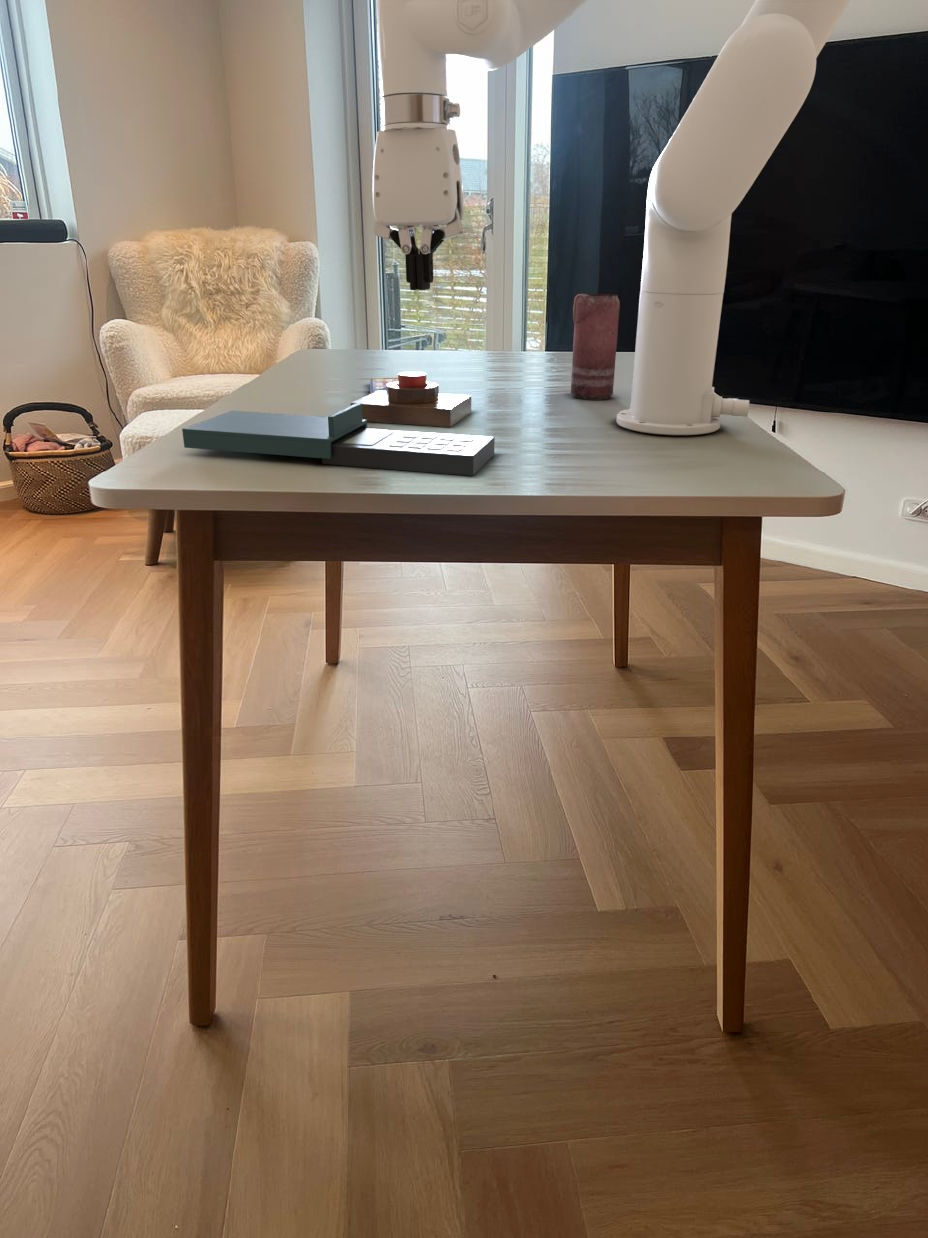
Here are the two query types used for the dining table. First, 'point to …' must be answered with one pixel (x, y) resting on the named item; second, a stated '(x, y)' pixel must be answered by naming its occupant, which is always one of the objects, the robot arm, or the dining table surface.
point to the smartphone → (380, 383)
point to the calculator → (412, 451)
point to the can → (594, 345)
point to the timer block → (415, 406)
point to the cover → (274, 432)
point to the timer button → (412, 379)
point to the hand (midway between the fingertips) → (420, 289)
